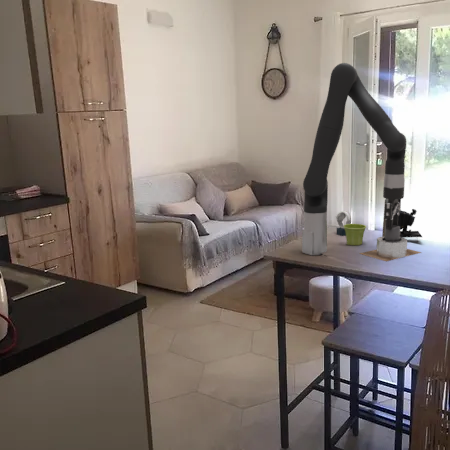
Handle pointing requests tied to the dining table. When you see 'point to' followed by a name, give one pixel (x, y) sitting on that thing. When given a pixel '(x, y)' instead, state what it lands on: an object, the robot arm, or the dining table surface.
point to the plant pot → (354, 233)
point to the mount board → (375, 255)
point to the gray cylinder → (392, 234)
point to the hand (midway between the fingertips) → (391, 227)
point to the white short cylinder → (391, 248)
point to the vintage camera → (404, 223)
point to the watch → (340, 218)
